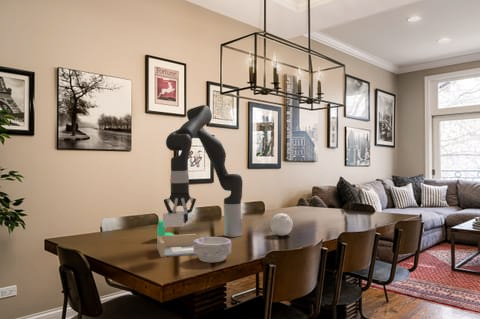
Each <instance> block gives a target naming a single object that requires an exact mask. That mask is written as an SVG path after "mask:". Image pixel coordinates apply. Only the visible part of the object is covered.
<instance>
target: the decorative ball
mask: <svg viewBox="0 0 480 319" xmlns="http://www.w3.org/2000/svg"><path fill="white" fill-rule="evenodd" d="M293 225H294V224H293V219H292V217H290V216H289V214H286V213H282V212H281V213H277V214H275V215H274V216H272V218H271V220H270V229H271V230H272V233H274V234H275V235H276V236H281V237H284V236H286V235H288V234H289V233H291V232H292V230H293Z"/></svg>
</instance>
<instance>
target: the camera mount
mask: <svg viewBox="0 0 480 319" xmlns="http://www.w3.org/2000/svg"><path fill="white" fill-rule="evenodd" d="M167 228H168V227H163V219H161V220H158V223H157V229H156V230H157V231H156V237H157V236H168V235H175V234H174V233H172V232H165V230H166V229H167Z"/></svg>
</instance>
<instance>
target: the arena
mask: <svg viewBox="0 0 480 319" xmlns="http://www.w3.org/2000/svg"><path fill="white" fill-rule="evenodd" d="M197 237H198V234H197V233H187V234H174V235H168V236H157V235H156V249H157V252H158V254H159V257H160V258H168V257H167V256H169V257H178V256H179V257H181V256H189V255H190V256H192V255H195V254H194V249H193V247H194V244H193V242H194V240H195V239H198V238H197ZM180 255H181V256H180Z"/></svg>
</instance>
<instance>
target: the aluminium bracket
mask: <svg viewBox="0 0 480 319" xmlns="http://www.w3.org/2000/svg"><path fill="white" fill-rule="evenodd" d="M184 214H185V212H184V210H176V213H168V212H166V213H165V212H164V213H163V214H162V220H163V227H167V228H179V227H183V228H184V226H185V224H186V223H184Z"/></svg>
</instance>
